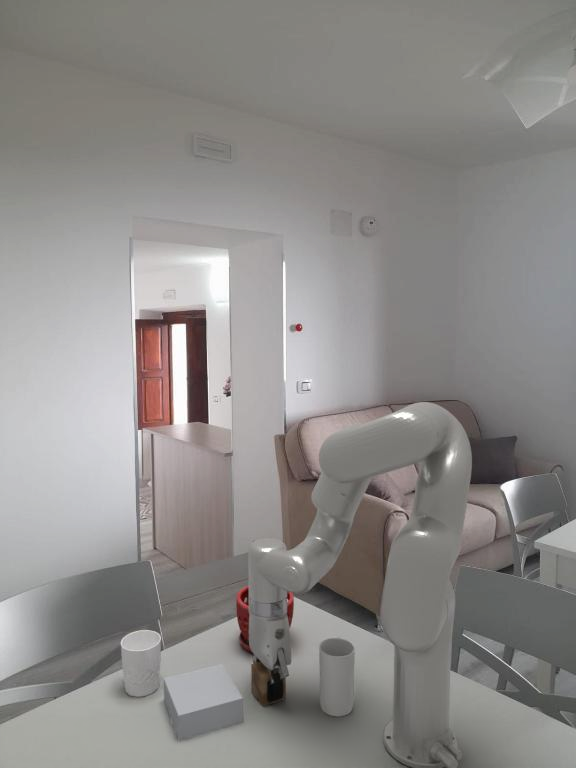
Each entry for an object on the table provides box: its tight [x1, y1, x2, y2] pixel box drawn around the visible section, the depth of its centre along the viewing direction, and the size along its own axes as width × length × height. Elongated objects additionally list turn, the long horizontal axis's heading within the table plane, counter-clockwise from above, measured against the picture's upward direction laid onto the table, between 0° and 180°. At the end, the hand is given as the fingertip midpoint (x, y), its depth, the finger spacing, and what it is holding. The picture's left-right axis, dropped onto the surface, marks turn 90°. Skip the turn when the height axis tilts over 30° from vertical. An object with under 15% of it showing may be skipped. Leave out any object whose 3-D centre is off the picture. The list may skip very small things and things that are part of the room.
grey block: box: [163, 663, 244, 741], centre depth 111 cm, size 12×12×5 cm
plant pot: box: [235, 585, 295, 653], centre depth 134 cm, size 13×13×12 cm
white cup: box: [120, 629, 162, 698], centre depth 118 cm, size 8×8×10 cm
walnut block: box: [250, 661, 287, 707], centre depth 116 cm, size 5×5×6 cm
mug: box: [318, 637, 356, 717], centre depth 114 cm, size 10×7×12 cm, turn 172°
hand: (268, 690), depth 116 cm, fingers closed on walnut block, 5 cm apart
